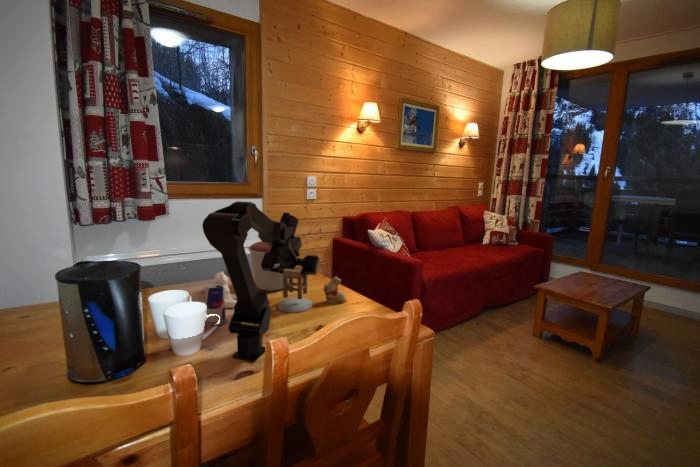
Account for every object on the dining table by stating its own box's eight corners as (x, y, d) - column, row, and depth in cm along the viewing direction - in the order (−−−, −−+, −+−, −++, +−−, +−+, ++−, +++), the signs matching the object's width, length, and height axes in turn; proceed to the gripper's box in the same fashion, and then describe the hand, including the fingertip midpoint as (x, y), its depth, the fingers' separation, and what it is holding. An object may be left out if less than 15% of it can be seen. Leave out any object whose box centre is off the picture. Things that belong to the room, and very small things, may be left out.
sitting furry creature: (240, 308, 114) (238, 274, 112) (212, 312, 110) (211, 277, 108) (235, 298, 123) (234, 266, 120) (210, 302, 119) (208, 269, 116)
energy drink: (219, 327, 100) (217, 288, 98) (203, 324, 101) (200, 287, 99) (229, 319, 106) (227, 282, 103) (213, 317, 107) (211, 281, 104)
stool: (301, 299, 113) (300, 272, 111) (283, 297, 114) (282, 270, 112) (307, 292, 119) (307, 266, 117) (290, 291, 120) (290, 265, 119)
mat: (304, 314, 110) (303, 313, 110) (271, 309, 113) (271, 308, 113) (318, 301, 121) (318, 300, 121) (288, 297, 125) (288, 295, 125)
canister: (245, 282, 139) (243, 232, 135) (287, 277, 147) (287, 230, 143) (255, 297, 123) (253, 241, 119) (301, 290, 132) (301, 238, 128)
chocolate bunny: (327, 297, 125) (328, 272, 123) (348, 300, 123) (348, 274, 121) (322, 303, 120) (322, 276, 118) (343, 306, 118) (344, 279, 116)
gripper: (318, 231, 107) (327, 257, 119) (263, 228, 110) (278, 253, 123) (310, 262, 100) (320, 285, 113) (252, 257, 104) (269, 280, 117)
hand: (296, 274), depth 117 cm, fingers closed on stool, 6 cm apart
